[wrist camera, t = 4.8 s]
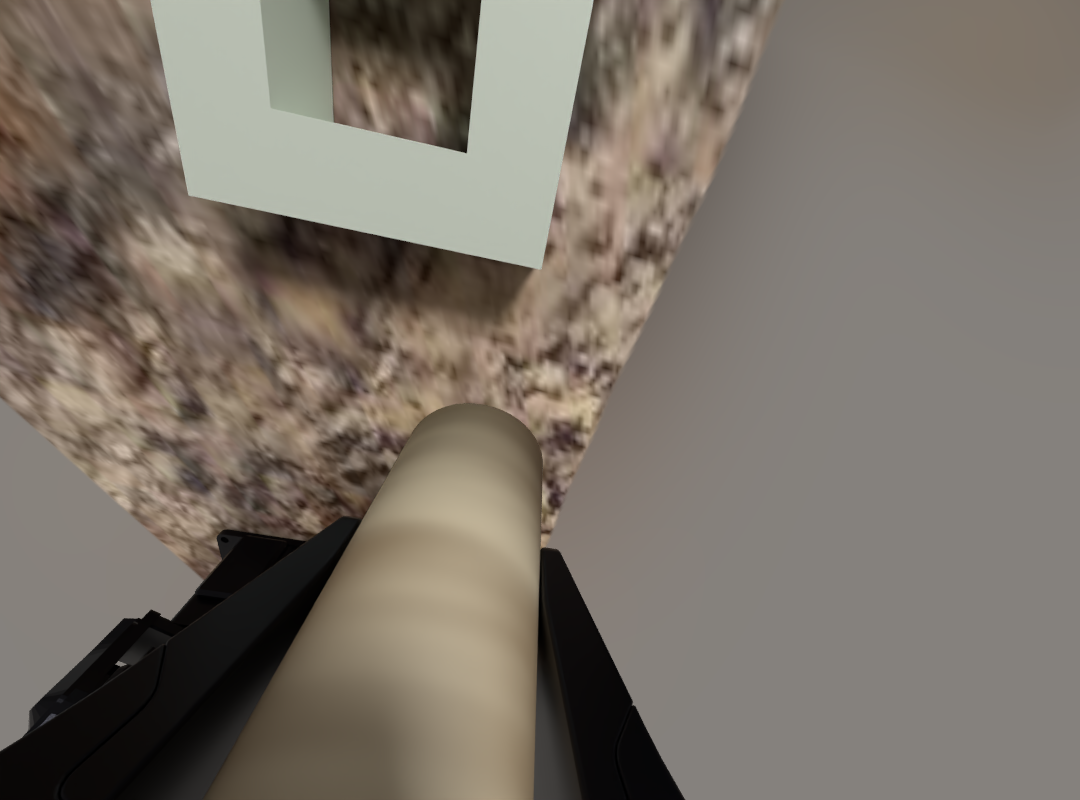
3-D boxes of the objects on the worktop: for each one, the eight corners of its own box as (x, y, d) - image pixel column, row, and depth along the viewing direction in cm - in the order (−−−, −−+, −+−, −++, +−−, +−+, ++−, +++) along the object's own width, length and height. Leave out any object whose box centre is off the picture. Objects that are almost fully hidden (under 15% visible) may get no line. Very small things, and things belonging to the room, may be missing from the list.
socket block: (542, 253, 18) (541, 269, 14) (264, 194, 17) (188, 195, 13) (620, -153, 12) (650, -296, 9) (210, -276, 11) (54, -492, 8)
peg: (529, 522, 13) (494, 1075, 5) (404, 502, 12) (147, 1053, 4) (555, 417, 11) (569, 1034, 3) (410, 391, 11) (-15, 996, 3)
